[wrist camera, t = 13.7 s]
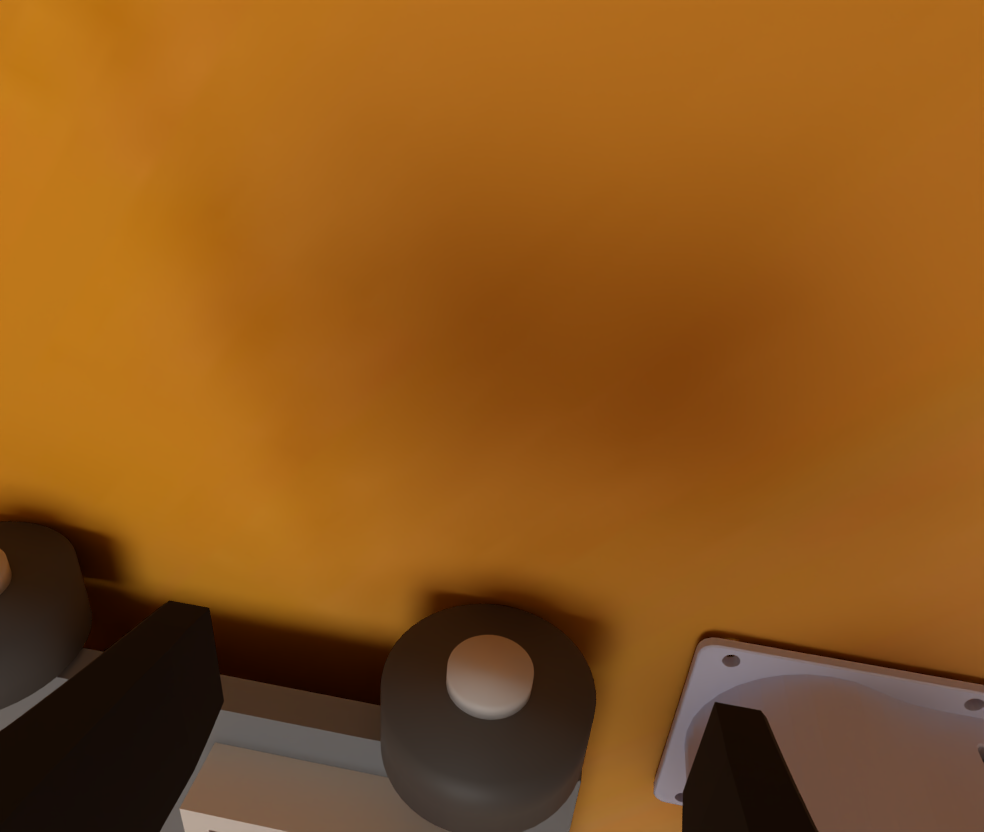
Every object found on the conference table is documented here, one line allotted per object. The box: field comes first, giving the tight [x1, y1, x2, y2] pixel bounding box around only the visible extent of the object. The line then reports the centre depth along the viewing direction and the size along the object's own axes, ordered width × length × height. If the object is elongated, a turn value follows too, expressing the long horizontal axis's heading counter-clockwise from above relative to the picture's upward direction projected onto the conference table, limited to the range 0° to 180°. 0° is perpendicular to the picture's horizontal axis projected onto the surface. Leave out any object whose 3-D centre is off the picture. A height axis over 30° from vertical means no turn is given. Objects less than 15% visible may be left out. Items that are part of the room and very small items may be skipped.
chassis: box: [0, 604, 596, 832], centre depth 27 cm, size 22×19×6 cm
